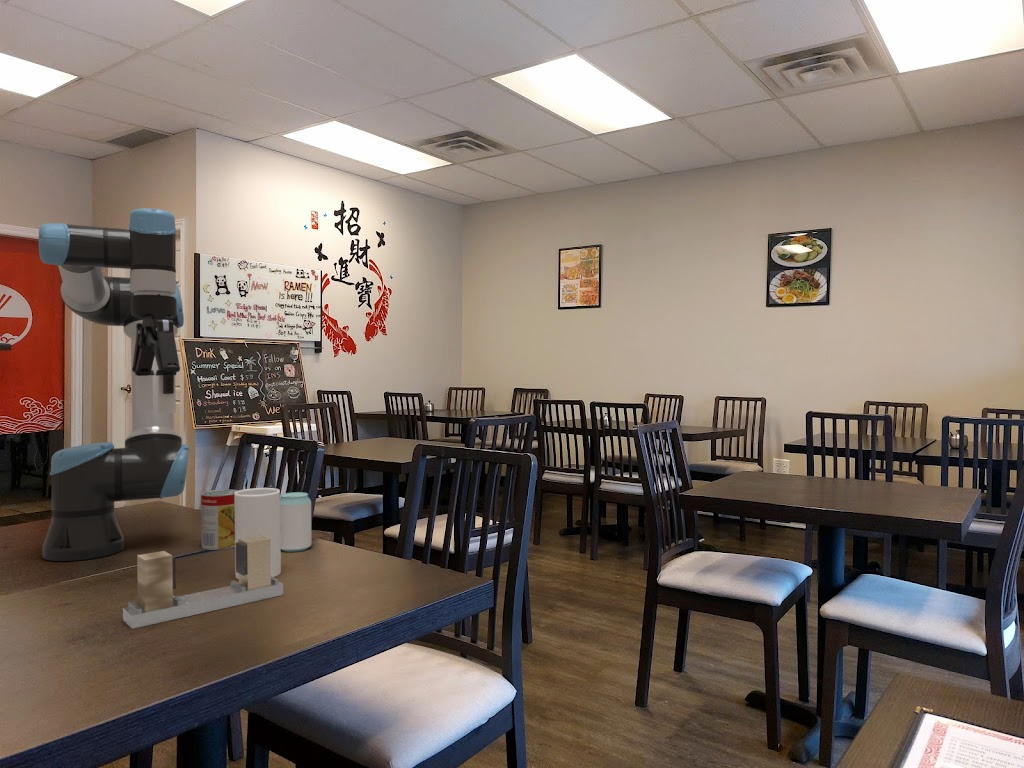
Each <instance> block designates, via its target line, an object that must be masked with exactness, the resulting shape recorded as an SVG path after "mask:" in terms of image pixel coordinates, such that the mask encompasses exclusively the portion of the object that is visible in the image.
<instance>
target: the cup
mask: <svg viewBox="0 0 1024 768" xmlns="http://www.w3.org/2000/svg"><path fill="white" fill-rule="evenodd" d="M280 498H281V490H280V489H279V488H275V487H257V488H254V487H252V488H246V489H240V490H238V491H236V492H235V547H234V560H235V563H234V568H235V574H234V575H235V578H236V579H238V580H239V573H237V572H236V543H238V539H241V538H247V537H253V536H260V535H261V536H264V537H266V538H269V539H270V556H271V576H272V577H274V578H276V577H277V576H280V574H281V573H282V569H281V568H282V565H281V564H282V559H281V557H282V556H281V555H282V554H281V550H282V549H281V541H280Z"/></svg>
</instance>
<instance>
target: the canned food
mask: <svg viewBox="0 0 1024 768" xmlns="http://www.w3.org/2000/svg"><path fill="white" fill-rule="evenodd" d="M236 491H239V490H238V489H228V488H227V489H213V490H208V491H203V492H201V493H200V503H201V504H200V508H201V509H200V512H201V513H200V517H201V518H200V519H201V522H200V523H201V527H200V528H201V529H200V530H201V548H202V549H203V550H208V551H220V550H228V549H232V548H235V492H236Z"/></svg>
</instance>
